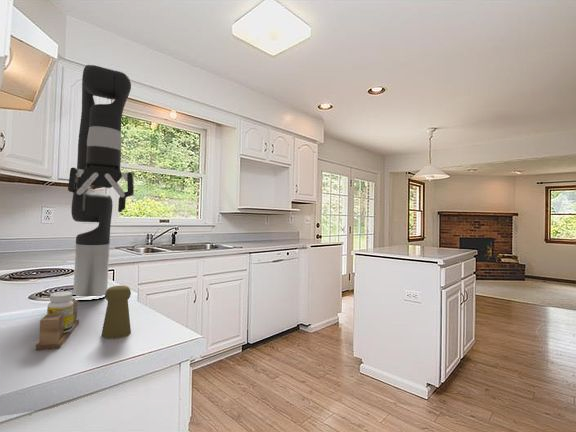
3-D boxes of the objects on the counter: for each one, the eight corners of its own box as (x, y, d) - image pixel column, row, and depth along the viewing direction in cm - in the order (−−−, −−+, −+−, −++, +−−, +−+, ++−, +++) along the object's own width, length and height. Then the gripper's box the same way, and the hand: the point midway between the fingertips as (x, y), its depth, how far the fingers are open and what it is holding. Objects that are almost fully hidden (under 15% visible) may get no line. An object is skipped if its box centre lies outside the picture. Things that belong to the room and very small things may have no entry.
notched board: (59, 324, 77) (60, 300, 77) (78, 323, 78) (80, 299, 78) (35, 350, 63) (37, 320, 63) (59, 348, 64) (60, 319, 64)
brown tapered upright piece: (118, 340, 70) (120, 290, 70) (94, 336, 71) (97, 288, 71) (136, 330, 76) (138, 284, 76) (114, 327, 77) (116, 282, 77)
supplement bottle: (44, 330, 71) (46, 292, 71) (69, 325, 74) (71, 289, 74) (48, 336, 67) (50, 297, 67) (74, 331, 71) (76, 294, 71)
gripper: (136, 153, 86) (133, 212, 87) (75, 147, 81) (72, 209, 81) (133, 148, 79) (130, 212, 80) (67, 141, 74) (63, 209, 74)
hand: (101, 211), depth 80 cm, fingers open, 8 cm apart
